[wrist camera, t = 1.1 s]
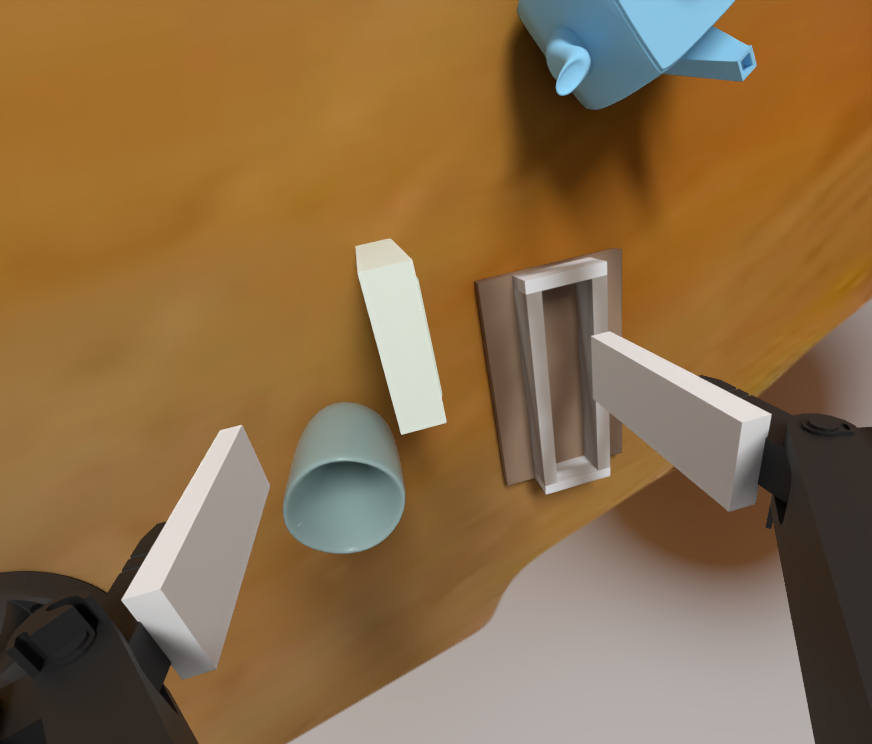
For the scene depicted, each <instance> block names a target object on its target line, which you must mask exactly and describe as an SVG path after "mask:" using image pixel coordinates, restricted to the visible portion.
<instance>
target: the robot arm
mask: <svg viewBox="0 0 872 744" xmlns="http://www.w3.org/2000/svg"><path fill="white" fill-rule="evenodd" d="M591 351H592V383H593V399H594V400H595V401H596V402H598V403H599V404H600V405H601V406H602V407H604V408H605V409H606V410H607V411H608V412H610V413H611V414H612V415H613V416H614V417H616V418H617V419H618V420H619V421H620V422H622V423H623V424H624V425H625V426H626V427H628V428H629V429H630V430H631V431H632V432H634V433H635V434H636V435H637V436H638V437H640V438H641V439H642V440H643V441H644V442H646V443H647V444H648V445H649V446H650V447H652V448H653V449H654V450H655V451H657V452H658V453H659V454H660V455H661V456H663V457H664V458H665V459H666V460H667V461H669V462H670V463H671V464H672V465H673V466H675V467H676V468H677V469H678V470H679V471H681V472H682V473H683V474H684V475H686V476H687V477H688V478H689V479H690V480H691V481H693V482H694V483H695V484H696V485H697V486H699V487H700V488H701V489H703V491H705V492H706V493H707V494H708V495H710V496H711V497H712V498H713V499H714V500H716V501H717V502H718V503H719V504H720V505H722V506H723V507H724V508H725V509H726V510H728V511H729V512H730V511H733V510H736V509H740V508H743V507H746V506H749V505H753V504H755V503H756V497H757V492H758V486H759V485H760V486H762V487H763V488H764V489H766V490H767V491H769V492H770V493H771V494H772V498H771V503H770V508H769V513H768V518H767V523H766V528H769V529H771V527H772V524H773V523H774V528H775V534H776V539H777V545H778V549H779V555H780V561H781V565H782V571H783V576H784V582H785V587H786V592H787V598H788V603H789V608H790V613H791V619H792V624H793V629H794V635H795V640H796V645H797V650H798V656H799V661H800V666H801V672H802V676H803V682H804V687H805V692H806V697H807V703H808V708H809V714H810V719H811V724H812V729H813V735H814V740H815V744H872V427H862V428H857V427H856V426H855V425H853V424H851V423H849V422H847V421H845V420H843V419H839V418H836V417H833V416H828V415H822V414H799V415H794V416H793V415H791V414H788V413H787V412H785V411H783V410H781V409H779V408H777V407H774V406H772V405H771V404H768V403H766V402H764V401H762V400H760V399H758V398H756V397H754V396H752V395H751V396H749V394H748V393H746V392H744V391H742V390H740V389H736V387H734V386H732V385H730V384H728V383H726V382H724V381H722V380H718V379H715V378H711V377H707V376H703V375H700V376H696V375H694V374H692V373H690V372H688V371H686V370H684V369H682V368H680V367H679V366H677V365H675V364H673V363H671V362H669V361H667V360H665V359H663V358H661V357H659V356H657V355H655V354H653V353H651V352H649V351H647V350H645V349H643V348H641V347H639V346H638V345H636V344H634V343H632V342H630V341H628V340H626V339H624V338H622V337H620V336H618V335H616V334H614V333H612V332H610V331H609V332H605V333H601V334H597V335H593V336H591ZM269 488H270V484H269V482H268V480H267V478H266V476H265V473H264V471H263V469H262V467H261V465H260V463H259V460H258V458H257V456H256V454H255V452H254V449H253V447H252V445H251V443H250V441H249V439H248V436H247V434H246V432H245V430H244V428H243V426H242V425H239V426H235V427H232V428H228V429H224V430H220V431H219V433H218V435H217V436H216V438H215V440H214V442H213V443H212V445H211V447H210V448H209V450H208V452H207V454H206V455H205V457H204V459H203V460H202V462H201V464H200V466H199V467H198V469H197V471H196V472H195V474H194V476H193V478H192V479H191V481H190V483H189V485H188V486H187V488H186V490H185V491H184V493H183V495H182V497H181V498H180V500H179V502H178V503H177V505H176V507H175V509H174V510H173V512H172V514H171V515H170V517H169V519H168V521H166V522H163V523H159V524H157V525H156V526H155V527H153V528H152V529H151V530H150V531H149V532H148V533H147V534H146V535H145V536H144V537H143V538H142V539H141V540H140V542H139V543H138V545H137V547H136V548H135V550H134V551H133V553H132V555H131V556H130V557H131V559H129V560H128V561H127V563H126V564H125V566H124V567H123V569H122V573H120V574H119V575H118V577H117V578H116V580H115V582H114V583H113V585H112V586H111V588H110V590H109V591H108V593H107V594H106V593H104V592H103V591H101V590H99V589H97V588H96V587H94V586H92V585H89V584H87V583H85V582H82V581H79V580H76V579H73V578H70V577H66V576H62V575H57V574H51V573H44V572H31V571H17V572H4V573H0V744H198V742H197V740H196V738H195V736H194V734H193V733H192V731H191V729H190V727H189V725H188V724H187V722H186V720H185V718H184V716H183V715H182V713H181V711H180V709H179V707H178V706H177V704H176V702H175V700H174V698H173V697H172V695H171V693H170V691H169V690H168V689H167V688H166V686H165V685H164V684H163V682H164V680H165V677H166V675H167V672H168V670H169V667H170V665H171V666H172V667H173V668H174V669H175V671H176V672H177V673H178V675H179V676H180V677H181V679H182V680H183V679H186V678H189V677H192V676H196V675H199V674H202V673H205V672H209V671H212V670H215V669H217V665H218V662H219V658H220V655H221V652H222V648H223V645H224V641H225V638H226V635H227V631H228V628H229V624H230V621H231V618H232V614H233V611H234V607H235V604H236V601H237V597H238V594H239V590H240V587H241V583H242V580H243V577H244V573H245V570H246V566H247V563H248V560H249V556H250V553H251V549H252V546H253V543H254V539H255V536H256V532H257V529H258V526H259V522H260V519H261V515H262V512H263V509H264V505H265V502H266V498H267V495H268V492H269Z"/></svg>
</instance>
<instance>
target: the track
mask: <svg viewBox="0 0 872 744" xmlns="http://www.w3.org/2000/svg"><path fill="white" fill-rule="evenodd" d="M474 283H475V290H476V296H477V303H478V309H479V316H480V322H481V329H482V336H483V342H484V349H485V355H486V362H487V368H488V375H489V382H490V388H491V395H492V401H493V408H494V414H495V421H496V428H497V434H498V441H499V447H500V454H501V460H502V467H503V474H504V480H505V481H506V483H507V485H508V486H509V485H512V484H516V483H519V482H522V481H526V480H529V479H533V478H535V479H536V480H537V482H538V483H539V485H540V486H541V488H542V489H543V491H544V492H545V494H550V493H553V492H557V491H560V490H563V489H567V488H570V487H573V486H577V485H580V484H584V483H587V482H590V481H594V480H597V479H601V478H604V477H607V476H610V456H612V455H616V454H619V453H622V422H620V421H619V420H618V419H617V418H616V417H614V416H613V415H612V414H611V413H610V412H608V411H607V410H606V409H605V408H604V407H602V406H601V405H600V404H599V403H598V402H596V401H595V400H594V399H593V383H592V351H591V336H593V335H597V334H601V333H605V332H609V331H610V332H612V333H614V334H616V335H618V336H620V337H622V249H617V248H613V249H608V250H604V251H600V252H596V253H591V254H587V255H583V256H579V257H575V258H570V259H566V260H562V261H558V262H554V263H549V264H545V265H541V266H537V267H532V268H528V269H524V270H520V271H516V272H511V273H507V274H503V275H499V276H495V277H490V278H486V279H482V280H478V281H474Z"/></svg>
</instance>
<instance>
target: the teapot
mask: <svg viewBox="0 0 872 744" xmlns="http://www.w3.org/2000/svg"><path fill="white" fill-rule="evenodd" d="M734 1H735V0H519V2H518V7H517V13H518V15H519V17H520V19H521V21H522V22H523V24H524V26H525V27H526V29H527V30H528V32H529V33H530V35H531V36H532V38H533V39H534V41H535V42H536V44H537V45H538V47H539V48H540V49H541V51H542V52H543V54H544V55H545V57H546V60H547V65H548V68H549V70H550V72H551V74H552V76H553V77H554V78H555V79H556V80H557V82H556V91H557V93H558V94H559V95H560V96H565V95H567V94H569V93H571V92H572V93H573V95H574V96H575V97H576V98H577V100H578V101H579V102H580V103H581V104H582V105H583V106H584V107H585V108H586V109H593V110H598V109H602V108H605V107H607V106H610V105H612V104H614V103H616V102H618V101H620V100H622V99H624V98H626V97H627V96H629V95H631V94H632V93H634V92H636V91H637V90H639V89H640V88H642V87H643V86H645V85H646V84H648V83H649V82H651V81H652V80H654V79H655V78H657V77H658V76H660V75H661V74H670V75H680V76H690V77H700V78H709V79H719V80H729V81H743V80H744V79H745V78H746V77H747V76H748V75H749V74H750V73H751V72H752V70H753V69H754V68H755V67H756V66H757V65H756V61H755V57H754V53H753V49H752V45H749V46H747V45H746V44H744V43H742V42H740V41H738V40H737V39H735V38H733V37H731V36H729V35H728V34H726V33H724V32H722V31H721V30H719V29H717V28H715V27H713V24H714V23H715V22H716V21H717V20H718V19H719V18H720V17H721V16H722V15H723V14H724V13H725V11H726V10H727V9H728V8H729V7H730V6H731V5H732V4H733V2H734Z"/></svg>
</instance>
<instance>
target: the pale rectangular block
mask: <svg viewBox="0 0 872 744" xmlns="http://www.w3.org/2000/svg"><path fill="white" fill-rule="evenodd" d="M356 260H357V273H358V277H359V280H360V284H361V288H362V292H363V295H364V299H365V303H366V306H367V310H368V314H369V317H370V321H371V325H372V329H373V332H374V336H375V340H376V343H377V347H378V351H379V354H380V358H381V362H382V365H383V369H384V373H385V377H386V380H387V384H388V388H389V391H390V395H391V399H392V402H393V406H394V410H395V414H396V417H397V421H398V425H399V428H400V432H401V435H403V434H406V433H410V432H414V431H418V430H421V429H425V428H429V427H432V426H436V425H440V424H443V423H447V421H446V417H445V412H444V407H443V403H442V398H441V396H443V395H442V391H441V386H440V381H439V376H438V371H437V367H436V362H435V357H434V352H433V348H432V343H431V338H430V333H429V329H428V324H427V319H426V314H425V309H424V305H423V300H422V295H421V290H420V286H419V281H418V278H417V277H416V275H415V270H414V265H413V261H412V259H411V258H410V257H409V256H408V255H407V254H406V253H405V252H404V251H403V250H402V249H401V248H400V247H399V246H398V245H397V244H396V243H395V242H394V241H393V240H392V239H391V238H390V239H386V240H381V241H377V242H372V243H368V244H363V245H359V246H356Z"/></svg>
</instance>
